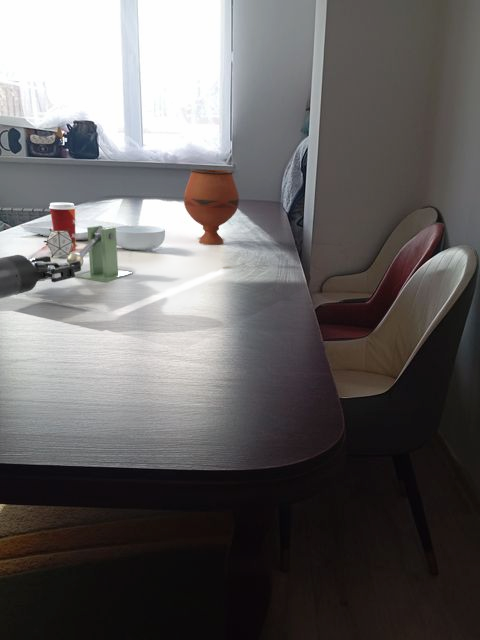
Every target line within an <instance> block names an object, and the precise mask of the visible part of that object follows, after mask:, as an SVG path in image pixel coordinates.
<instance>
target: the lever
mask: <svg viewBox="0 0 480 640" xmlns="http://www.w3.org/2000/svg"><path fill="white" fill-rule="evenodd" d="M101 229H104V228H103V227H100V228H99V229H98V230H97V231H95V232H94V236H95V238H94V239H93V240H92V241H91V242H90V243H89V244H88V243H87V244H86V245H85V246H84V247H83V248H82V249H81V250H80V251H79V252H70V254H69V255H67V257H66V263H70V262H74V261H80V262H81V267H83V264H84V257H86V256H87V254H89V251H90V250H91V249H92V248H93V247H94V246H95V245H96V244H98V243H99V242H102V238H101Z"/></svg>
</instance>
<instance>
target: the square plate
mask: <svg viewBox="0 0 480 640" xmlns="http://www.w3.org/2000/svg"><path fill="white" fill-rule="evenodd" d="M99 225H100V226H102V227H103V228H110V227H117V226H131V225H130V224H123V223H117V222H111V221H104V220H93V219H83V218H75V238H76V241H85V240H86V241H88V230H87V227H92V226H99ZM19 226H20V228H22V229H23V230H25V231H26V232H28V233H32V234H37V235H39V234H40V235H39V236H41V235H43V236H42V237H48V236H49V234H50V232H51V231H50V230H49V228H50V229H51V230H52V231H53V224H52V220H44V221H38V222H32V223H25V224H20V225H19Z"/></svg>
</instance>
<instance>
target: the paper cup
mask: <svg viewBox="0 0 480 640" xmlns="http://www.w3.org/2000/svg"><path fill="white" fill-rule="evenodd" d="M48 209H49V211H50V216H51V221H52V224H53V231H67V229H69V231H68V233H69V235H70V237H71V239H72V241H75V242H73V244H76V243H77V240H76V238H75V219H76V209H77V207H76V206H75V203H73V202H63V201H62V202H61V201H60V202H59V201H58V202H50V203H49V207H48ZM76 245H77V244H76ZM76 245H75V246H74V245H73V247H72V250H71V252H75V251H76V247H77V246H76Z"/></svg>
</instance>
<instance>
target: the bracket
mask: <svg viewBox="0 0 480 640" xmlns="http://www.w3.org/2000/svg"><path fill="white" fill-rule="evenodd" d="M100 227H102V226H100V225H99V226H92V227H87V230H88V239H87V244H89V243H90V242H91V241H92V240H93V239H94V238H95V236H94V232H95V231H97V230H98V229H99V228H100ZM101 238H102V242H99V243H98V244H96V245H95V246H94V247H93V248H92V249H91V250H90V251H89V252H88V257H89V271H87V272H85V273H81V274H77V275H76V274H75V277H74V278H77V279H82V280H83V279H84V280H90V281H95V282H102V283H108V282H111V281H114V280H117V279H121V278H123V277H127V276H129V275H133V271H132V272H131V271H126V270H121V269H119V268H118V267H119V266H118V265H119V264H118V245H117V243H116V228H115V227H110V228H104V229H101Z"/></svg>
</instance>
